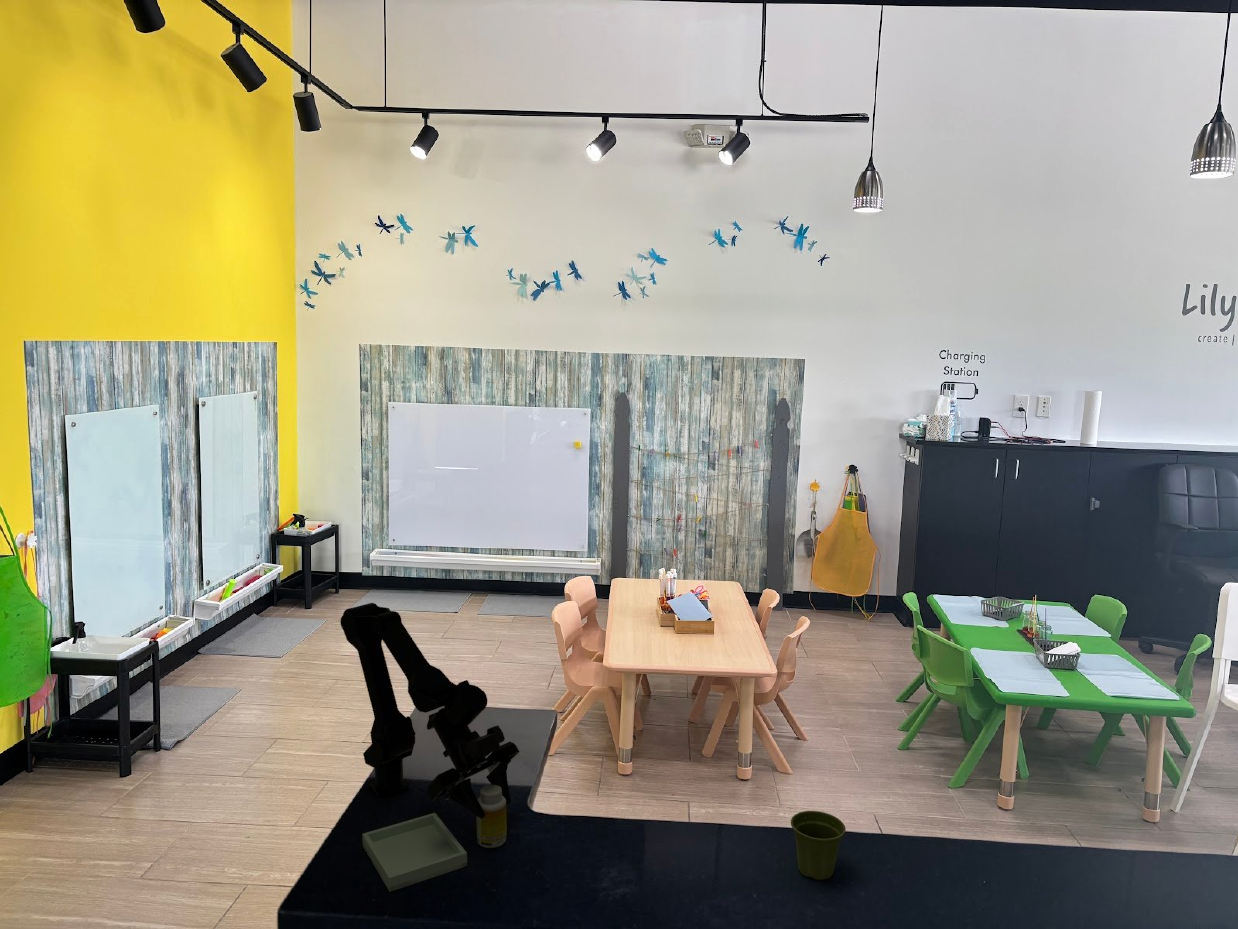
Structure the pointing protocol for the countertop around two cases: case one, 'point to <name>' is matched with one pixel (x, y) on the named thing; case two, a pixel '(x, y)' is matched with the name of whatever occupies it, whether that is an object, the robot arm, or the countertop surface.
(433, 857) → the tray
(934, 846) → the countertop surface
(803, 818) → the plant pot
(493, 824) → the supplement bottle
